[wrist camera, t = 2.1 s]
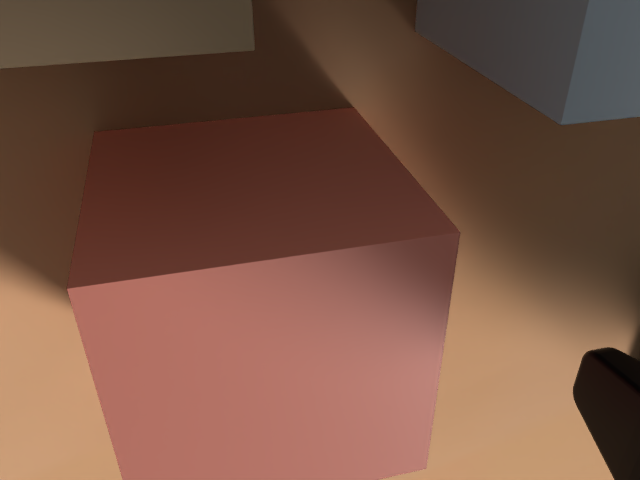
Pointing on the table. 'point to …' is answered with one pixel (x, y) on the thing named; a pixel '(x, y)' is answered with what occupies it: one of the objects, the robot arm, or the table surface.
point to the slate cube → (547, 51)
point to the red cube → (262, 299)
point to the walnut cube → (120, 30)
